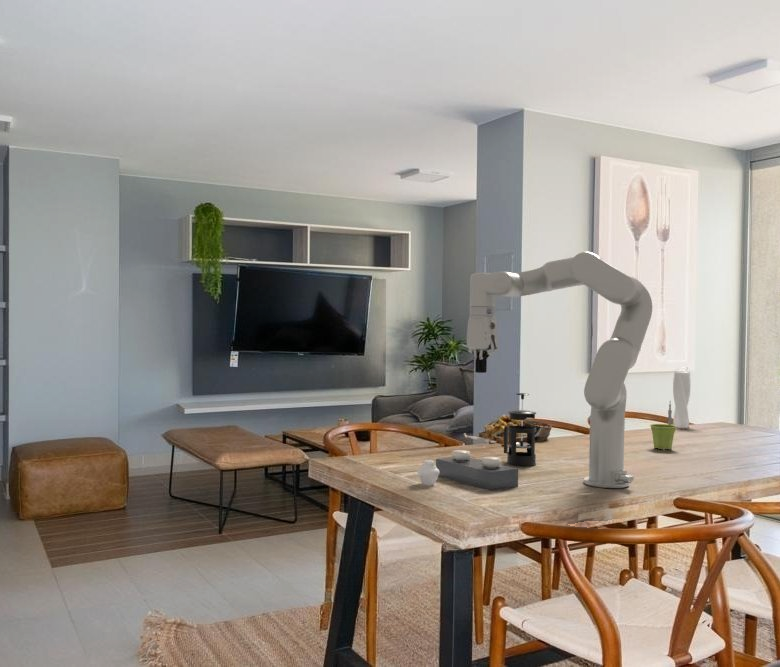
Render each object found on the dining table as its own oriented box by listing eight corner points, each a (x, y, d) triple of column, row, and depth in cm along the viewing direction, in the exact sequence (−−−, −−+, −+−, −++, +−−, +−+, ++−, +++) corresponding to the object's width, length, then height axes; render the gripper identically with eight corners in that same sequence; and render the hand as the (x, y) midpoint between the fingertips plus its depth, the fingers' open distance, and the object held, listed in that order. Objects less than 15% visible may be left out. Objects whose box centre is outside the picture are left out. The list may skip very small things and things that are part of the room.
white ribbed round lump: (412, 484, 214) (413, 459, 214) (427, 481, 219) (428, 456, 219) (429, 487, 210) (429, 462, 210) (444, 484, 214) (444, 459, 214)
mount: (518, 486, 213) (518, 468, 213) (491, 490, 208) (491, 472, 208) (461, 472, 233) (461, 455, 233) (435, 475, 227) (435, 458, 227)
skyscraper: (676, 427, 351) (677, 366, 351) (693, 429, 345) (694, 366, 345) (666, 428, 346) (667, 366, 346) (683, 430, 340) (684, 367, 340)
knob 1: (473, 473, 225) (473, 452, 225) (459, 475, 222) (460, 453, 222) (461, 470, 229) (462, 449, 229) (448, 472, 226) (448, 451, 226)
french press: (543, 464, 248) (544, 393, 248) (526, 468, 242) (528, 395, 241) (513, 460, 257) (514, 391, 256) (496, 463, 250) (497, 392, 250)
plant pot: (680, 451, 282) (680, 427, 282) (654, 450, 282) (654, 427, 282) (671, 447, 291) (671, 424, 291) (646, 446, 291) (646, 423, 291)
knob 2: (504, 481, 214) (504, 458, 214) (490, 483, 211) (490, 460, 211) (491, 477, 219) (492, 456, 219) (477, 479, 216) (478, 457, 216)
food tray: (529, 435, 321) (529, 410, 321) (573, 444, 300) (574, 416, 300) (461, 441, 303) (462, 413, 303) (503, 450, 281) (504, 421, 281)
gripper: (507, 313, 234) (506, 373, 234) (474, 313, 246) (473, 370, 246) (489, 312, 230) (488, 374, 230) (456, 312, 242) (455, 371, 242)
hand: (480, 372), depth 238 cm, fingers closed
